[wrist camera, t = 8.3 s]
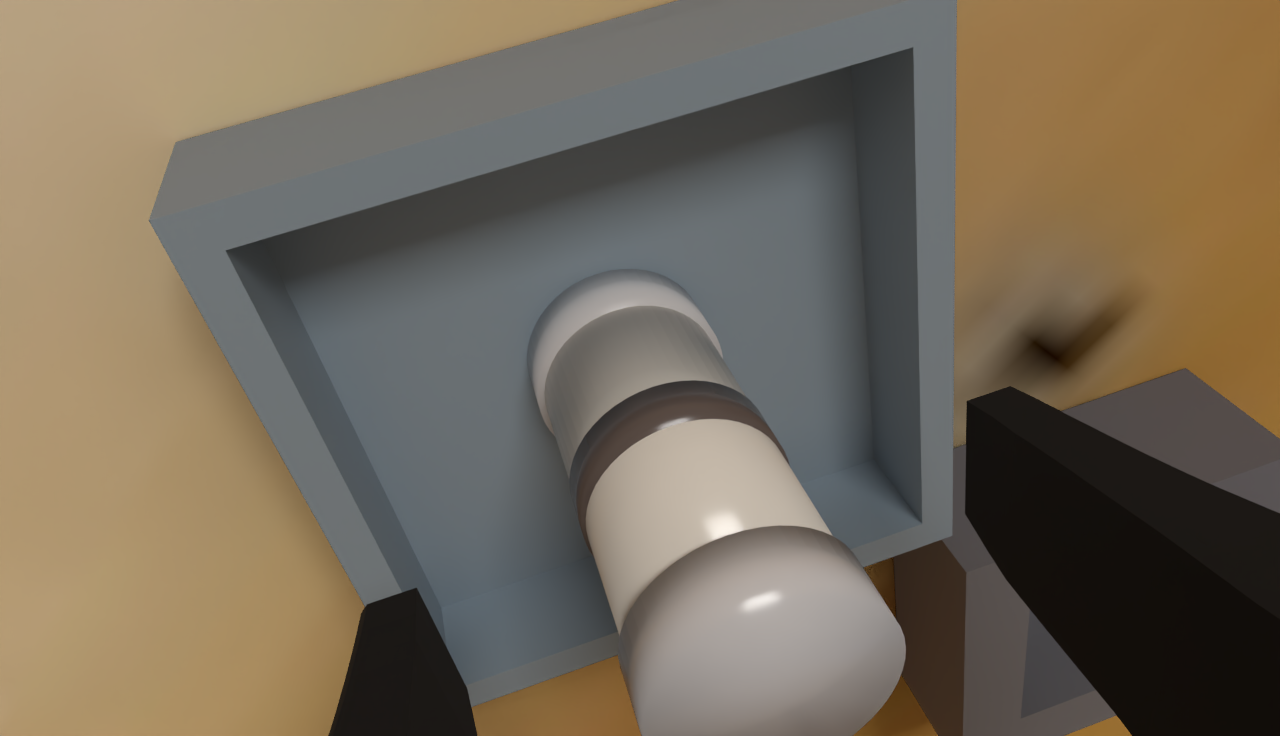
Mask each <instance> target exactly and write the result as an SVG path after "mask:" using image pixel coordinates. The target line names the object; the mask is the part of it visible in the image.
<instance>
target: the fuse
mask: <svg viewBox="0 0 1280 736" xmlns="http://www.w3.org/2000/svg"><path fill="white" fill-rule="evenodd" d="M527 366H528V372H529V376H530V380H531V383H532V386H533V389H534V392H535V396H536V399H537V402H538V405H539V408H540V412H541V414H542V417H543V419H544V422H545V424H546V425H547V427H548V428H549V430H550V431H551V432H552V434H553V435H554V436H555V437H556V440H557V443H558V446H559V450H560V453H561V456H562V459H563V462H564V465H565V468H566V471H567V474H568V478H569V486H570V494H571V498H572V502H573V505H574V508H575V511H576V515H577V518H578V521H579V524H580V527H581V530H582V533H583V537H584V540H585V542H586V545H587V547H588V549H589V551H590V552H591V554H592V555H593V557H594V558H595V561H596V565H597V568H598V571H599V574H600V577H601V580H602V583H603V586H604V589H605V593H606V596H607V599H608V602H609V605H610V608H611V611H612V614H613V617H614V620H615V624H616V627H617V630H618V633H619V636H620V637H619V643H618V659H619V663H620V668H621V671H622V674H623V678H624V681H625V684H626V687H627V691H628V694H629V697H630V700H631V703H632V707H633V710H634V713H635V716H636V719H637V723H638V726H639V729H640V732H641V735H642V736H853V735H854V734H855V733H856V732H857V731H859V730H860V729H861V728H862V727H863V726H864V725H865V724H866V723H868V722H869V721H870V720H871V719H872V718H873V717H874V716H875V714H876V713H877V712H878V711H879V710H880V709H881V708H882V706H883V705H884V704H885V702H886V701H887V700H888V698H889V697H890V695H891V694H892V692H893V690H894V688H895V687H896V685H897V683H898V681H899V678H900V676H901V673H902V671H903V667H904V662H905V655H906V645H905V637H904V635H903V632H902V629H901V627H900V625H899V624H898V622H897V620H896V619H895V617H894V616H893V614H892V613H891V611H890V609H889V608H888V606H887V605H886V603H885V602H884V600H883V598H882V597H881V595H880V594H879V592H878V590H877V589H876V587H875V586H874V584H873V583H872V581H871V579H870V578H869V576H868V575H867V573H866V572H865V570H864V568H863V567H862V565H861V564H860V562H859V561H858V559H857V557H856V556H855V554H854V553H853V552H852V551H851V550H850V549H849V548H848V547H847V545H846V544H844V543H843V542H841V541H840V540H839V539H837V538H836V537H834V536H833V535H832V534H831V532H830V530H829V529H828V527H827V526H826V524H825V522H824V521H823V519H822V518H821V516H820V514H819V513H818V511H817V510H816V508H815V506H814V505H813V503H812V502H811V500H810V498H809V497H808V495H807V494H806V492H805V490H804V489H803V487H802V485H801V484H800V482H799V481H798V479H797V477H796V476H795V474H794V473H793V471H792V469H791V468H790V465H789V460H788V458H787V456H786V453H785V451H784V449H783V448H782V446H781V445H780V443H779V441H778V440H777V438H776V437H775V435H774V433H773V432H772V430H771V429H770V427H769V425H768V424H767V422H766V421H765V419H764V417H763V416H762V414H761V413H760V411H759V410H758V408H757V407H756V406H755V405H754V404H753V403H752V402H751V401H750V400H749V399H748V398H747V397H746V395H745V394H744V392H743V391H742V389H741V387H740V386H739V384H738V383H737V381H736V379H735V378H734V376H733V375H732V373H731V371H730V370H729V368H728V366H727V365H726V363H725V362H724V360H723V355H722V351H721V347H720V344H719V341H718V339H717V337H716V335H715V333H714V332H713V330H712V329H711V327H710V326H709V324H708V322H707V321H706V319H705V318H704V316H703V315H702V313H701V311H700V310H699V308H698V307H697V305H696V304H695V302H694V300H693V299H692V297H691V296H690V295H689V294H688V293H687V292H686V290H685V289H684V288H682V287H681V286H680V285H679V284H677V283H676V282H674V281H673V280H671V279H669V278H668V277H665V276H663V275H660V274H658V273H655V272H651V271H647V270H639V269H618V270H610V271H606V272H602V273H598V274H595V275H593V276H590V277H587V278H585V279H583V280H581V281H579V282H577V283H575V284H574V285H572V286H571V287H569V288H567V289H566V290H564V291H563V292H562V293H561V294H560V295H559V296H557V297H556V298H555V299H554V300H553V301H552V302H551V303H550V304H549V305H548V306H547V308H546V309H545V310H544V312H543V313H542V314H541V316H540V317H539V319H538V321H537V323H536V324H535V326H534V329H533V331H532V334H531V336H530V340H529V344H528V351H527Z"/></svg>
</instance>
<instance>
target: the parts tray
mask: <svg viewBox="0 0 1280 736" xmlns="http://www.w3.org/2000/svg"><path fill="white" fill-rule="evenodd" d="M956 24H957V0H678V1H675V2H671V3H668V4H664V5H661V6H657V7H653V8H650V9H646V10H643V11H639V12H636V13H632V14H629V15H625V16H622V17H618V18H614V19H611V20H607V21H604V22H600V23H597V24H593V25H590V26H586V27H583V28H579V29H575V30H572V31H568V32H565V33H561V34H558V35H554V36H551V37H547V38H544V39H540V40H536V41H533V42H529V43H526V44H522V45H519V46H515V47H512V48H508V49H505V50H501V51H497V52H494V53H490V54H487V55H483V56H480V57H476V58H473V59H469V60H466V61H462V62H458V63H455V64H451V65H448V66H444V67H441V68H437V69H434V70H430V71H427V72H423V73H419V74H416V75H412V76H409V77H405V78H402V79H398V80H395V81H391V82H388V83H384V84H380V85H377V86H373V87H370V88H366V89H363V90H359V91H356V92H352V93H349V94H345V95H341V96H338V97H334V98H331V99H327V100H324V101H320V102H317V103H313V104H310V105H306V106H302V107H299V108H295V109H292V110H288V111H285V112H281V113H278V114H274V115H270V116H267V117H263V118H260V119H256V120H253V121H249V122H246V123H242V124H239V125H235V126H231V127H228V128H224V129H221V130H217V131H214V132H210V133H207V134H203V135H200V136H196V137H192V138H189V139H185V140H182V141H178V142H176V143H175V146H174V149H173V152H172V154H171V157H170V160H169V163H168V166H167V169H166V172H165V175H164V178H163V181H162V184H161V187H160V190H159V193H158V195H157V198H156V201H155V204H154V207H153V210H152V213H151V216H150V219H149V222H150V223H151V225H152V227H153V229H154V231H155V232H156V234H157V236H158V238H159V239H160V241H161V243H162V245H163V247H164V248H165V250H166V252H167V254H168V256H169V257H170V259H171V261H172V263H173V264H174V266H175V268H176V270H177V272H178V273H179V275H180V277H181V279H182V281H183V282H184V284H185V286H186V288H187V289H188V291H189V293H190V295H191V297H192V298H193V300H194V302H195V304H196V306H197V307H198V309H199V311H200V313H201V314H202V316H203V318H204V320H205V322H206V323H207V325H208V327H209V329H210V331H211V332H212V334H213V336H214V338H215V339H216V341H217V343H218V345H219V347H220V348H221V350H222V352H223V354H224V356H225V357H226V359H227V361H228V363H229V364H230V366H231V368H232V370H233V372H234V373H235V375H236V377H237V379H238V381H239V382H240V384H241V386H242V388H243V389H244V391H245V393H246V395H247V397H248V398H249V400H250V402H251V404H252V406H253V407H254V409H255V411H256V413H257V414H258V416H259V418H260V420H261V422H262V423H263V425H264V427H265V429H266V431H267V432H268V434H269V436H270V438H271V439H272V441H273V443H274V445H275V447H276V448H277V450H278V452H279V454H280V456H281V457H282V459H283V461H284V463H285V464H286V466H287V468H288V470H289V472H290V473H291V475H292V477H293V479H294V481H295V482H296V484H297V486H298V488H299V489H300V491H301V493H302V495H303V497H304V498H305V500H306V502H307V504H308V506H309V507H310V509H311V511H312V513H313V514H314V516H315V518H316V520H317V522H318V523H319V525H320V527H321V529H322V531H323V532H324V534H325V536H326V538H327V539H328V541H329V543H330V545H331V547H332V548H333V550H334V552H335V554H336V556H337V557H338V559H339V561H340V563H341V564H342V566H343V568H344V570H345V572H346V573H347V575H348V577H349V579H350V581H351V582H352V584H353V586H354V588H355V589H356V591H357V593H358V595H359V597H360V598H361V600H362V602H363V604H364V606H365V607H366V605H367V604H369V603H372V602H375V601H378V600H381V599H384V598H387V597H390V596H393V595H396V594H399V593H402V592H405V591H408V590H411V589H414V588H417V589H418V591H419V593H420V595H421V597H422V599H423V601H424V603H425V605H426V607H427V609H428V611H429V613H430V615H431V617H432V619H433V621H434V623H435V625H436V627H437V629H438V631H439V633H440V635H441V637H442V639H443V641H444V643H445V645H446V647H447V649H448V651H449V653H450V655H451V657H452V659H453V661H454V663H455V665H456V667H457V669H458V671H459V673H460V675H461V677H462V679H463V681H464V683H465V685H466V687H467V689H468V694H469V699H470V704H471V707H473V706H476V705H479V704H482V703H484V702H487V701H490V700H493V699H496V698H498V697H501V696H504V695H507V694H510V693H512V692H515V691H518V690H521V689H524V688H526V687H529V686H532V685H535V684H538V683H540V682H543V681H546V680H549V679H552V678H554V677H557V676H560V675H563V674H566V673H569V672H571V671H574V670H577V669H580V668H583V667H585V666H588V665H591V664H594V663H597V662H599V661H602V660H605V659H608V658H611V657H613V656H616V655H618V643H619V637H620V636H619V633H618V630H617V627H616V624H615V620H614V617H613V614H612V611H611V608H610V605H609V602H608V599H607V596H606V593H605V589H604V586H603V583H602V580H601V577H600V574H599V571H598V568H597V565H596V561H595V558H594V557H593V555H592V554H591V552H590V551H589V549H588V547H587V545H586V542H585V540H584V537H583V533H582V530H581V527H580V524H579V521H578V518H577V515H576V511H575V508H574V505H573V502H572V498H571V494H570V486H569V478H568V474H567V471H566V468H565V465H564V462H563V459H562V456H561V453H560V450H559V446H558V443H557V440H556V437H555V436H554V435H553V434H552V432H551V431H550V430H549V428H548V427H547V425H546V424H545V422H544V419H543V417H542V414H541V412H540V408H539V405H538V402H537V399H536V396H535V392H534V389H533V386H532V383H531V380H530V376H529V372H528V366H527V351H528V344H529V340H530V336H531V334H532V331H533V329H534V326H535V324H536V323H537V321H538V319H539V317H540V316H541V314H542V313H543V312H544V310H545V309H546V308H547V306H548V305H549V304H550V303H551V302H552V301H553V300H554V299H555V298H556V297H557V296H559V295H560V294H561V293H562V292H563V291H564V290H566V289H567V288H569V287H571V286H572V285H574V284H575V283H577V282H579V281H581V280H583V279H585V278H587V277H590V276H593V275H595V274H598V273H602V272H606V271H610V270H618V269H639V270H647V271H651V272H655V273H658V274H660V275H663V276H665V277H668V278H669V279H671V280H673V281H674V282H676V283H677V284H679V285H680V286H681V287H682V288H684V289H685V290H686V292H687V293H688V294H689V295H690V296H691V297H692V299H693V300H694V302H695V304H696V305H697V307H698V308H699V310H700V311H701V313H702V315H703V316H704V318H705V319H706V321H707V322H708V324H709V326H710V327H711V329H712V330H713V332H714V333H715V335H716V337H717V339H718V341H719V344H720V347H721V351H722V355H723V360H724V362H725V363H726V365H727V366H728V368H729V370H730V371H731V373H732V375H733V376H734V378H735V379H736V381H737V383H738V384H739V386H740V387H741V389H742V391H743V392H744V394H745V395H746V397H747V398H748V399H749V400H750V401H751V402H752V403H753V404H754V405H755V406H756V407H757V408H758V410H759V411H760V413H761V414H762V416H763V417H764V419H765V421H766V422H767V424H768V425H769V427H770V429H771V430H772V432H773V433H774V435H775V437H776V438H777V440H778V441H779V443H780V445H781V446H782V448H783V449H784V451H785V453H786V456H787V458H788V460H789V465H790V468H791V469H792V471H793V473H794V474H795V476H796V477H797V479H798V481H799V482H800V484H801V485H802V487H803V489H804V490H805V492H806V494H807V495H808V497H809V498H810V500H811V502H812V503H813V505H814V506H815V508H816V510H817V511H818V513H819V514H820V516H821V518H822V519H823V521H824V522H825V524H826V526H827V527H828V529H829V530H830V532H831V534H832V535H833V536H834V537H836V538H837V539H839V540H840V541H841V542H843V543H844V544H846V545H847V547H848V548H849V549H850V550H851V551H852V552H853V553H854V554H855V556H856V557H857V559H858V561H859V562H860V564H861V565H862V567H866V566H869V565H872V564H874V563H877V562H880V561H883V560H886V559H888V558H891V557H894V556H897V555H900V554H902V553H905V552H908V551H911V550H914V549H917V548H919V547H922V546H925V545H928V544H931V543H933V542H936V541H939V540H942V539H945V538H947V537H950V536H952V520H953V396H954V272H955V148H956Z"/></svg>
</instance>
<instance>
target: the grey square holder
mask: <svg viewBox="0 0 1280 736" xmlns="http://www.w3.org/2000/svg"><path fill="white" fill-rule="evenodd" d="M1061 412H1063V413H1065V414H1067V415H1069V416H1071V417H1073V418H1075V419H1077V420H1079V421H1081V422H1083V423H1085V424H1087V425H1089V426H1091V427H1093V428H1095V429H1097V430H1099V431H1101V432H1103V433H1105V434H1107V435H1109V436H1111V437H1113V438H1115V439H1117V440H1119V441H1121V442H1123V443H1125V444H1127V445H1129V446H1131V447H1133V448H1135V449H1137V450H1139V451H1141V452H1143V453H1145V454H1147V455H1149V456H1151V457H1154V458H1156V459H1158V460H1160V461H1162V462H1164V463H1166V464H1168V465H1170V466H1172V467H1175V468H1177V469H1179V470H1181V471H1183V472H1185V473H1188V474H1190V475H1192V476H1194V477H1196V478H1199V479H1201V480H1203V481H1205V482H1207V483H1210V484H1212V485H1214V486H1216V487H1219V488H1221V489H1223V490H1226V491H1228V492H1230V493H1233V494H1235V495H1238V496H1240V497H1242V498H1245V499H1247V500H1249V501H1252V502H1254V503H1257V504H1259V505H1261V506H1264V507H1266V508H1268V509H1271V510H1273V511H1276V512H1278V513H1280V439H1279V438H1278V437H1276V436H1275V435H1274V434H1272V433H1271V432H1270V431H1268V430H1267V429H1266V428H1264V427H1263V426H1262V425H1260V424H1259V423H1258V422H1256V421H1255V420H1254V419H1252V418H1251V417H1250V416H1248V415H1247V414H1246V413H1245V412H1243V411H1242V410H1241V409H1239V408H1238V407H1237V406H1235V405H1234V404H1233V403H1231V402H1230V401H1229V400H1227V399H1226V398H1225V397H1223V396H1222V395H1221V394H1219V393H1218V392H1217V391H1215V390H1214V389H1213V388H1211V387H1210V386H1209V385H1207V384H1206V383H1205V382H1203V381H1202V380H1201V379H1199V378H1198V377H1197V376H1195V375H1194V374H1193V373H1191V372H1190V371H1189V370H1187V369H1186V368H1185V369H1182V370H1180V371H1177V372H1174V373H1171V374H1168V375H1165V376H1162V377H1159V378H1156V379H1154V380H1151V381H1148V382H1145V383H1142V384H1139V385H1136V386H1133V387H1130V388H1127V389H1125V390H1122V391H1119V392H1116V393H1113V394H1110V395H1107V396H1104V397H1101V398H1099V399H1096V400H1093V401H1090V402H1087V403H1084V404H1081V405H1078V406H1075V407H1073V408H1070V409H1067V410H1064V411H1061ZM965 479H966V445H963V446H960V447H957V448H954V449H953V520H952V536H950V537H947V538H945V539H942V540H939V541H936V542H933V543H931V544H928V545H925V546H922V547H919V548H917V549H914V550H911V551H908V552H905V553H902V554H900V555H897V556H894V577H895V598H896V620H897V622H898V624H899V625H900V627H901V629H902V632H903V635H904V637H905V645H906V655H905V662H904V667H903V671H902V673H901V675H902V677H903V678H904V680H905V681H906V683H907V685H908V686H909V688H910V690H911V691H912V693H913V695H914V696H915V698H916V700H917V701H918V703H919V705H920V706H921V708H922V710H923V711H924V713H925V715H926V716H927V718H928V719H929V721H930V723H931V724H932V726H933V728H934V729H935V731H936V733H937V734H938V736H1064V735H1067V734H1069V733H1072V732H1075V731H1077V730H1080V729H1082V728H1085V727H1088V726H1090V725H1093V724H1095V723H1098V722H1100V721H1103V720H1106V719H1108V718H1111V717H1113V716H1116V714H1115V713H1114V711H1113V710H1112V709H1111V708H1110V707H1109V705H1108V704H1107V703H1106V702H1105V701H1104V699H1103V698H1102V697H1101V696H1100V694H1099V693H1098V692H1097V691H1096V690H1095V688H1094V687H1093V686H1092V685H1091V683H1090V682H1089V681H1088V680H1087V679H1086V677H1085V676H1084V675H1083V674H1082V673H1081V671H1080V670H1079V669H1078V668H1077V666H1076V665H1075V664H1074V663H1073V662H1072V660H1071V659H1070V658H1069V657H1068V656H1067V654H1066V653H1065V652H1064V651H1063V649H1062V648H1061V647H1060V646H1059V645H1058V643H1057V642H1056V641H1055V640H1054V638H1053V637H1052V636H1051V635H1050V634H1049V632H1048V631H1047V630H1046V629H1045V628H1044V626H1043V625H1042V624H1041V623H1040V621H1039V620H1038V619H1037V618H1036V616H1035V615H1034V614H1033V613H1032V611H1031V610H1030V609H1029V608H1028V607H1027V605H1026V604H1025V603H1024V602H1023V600H1022V599H1021V598H1020V597H1019V595H1018V594H1017V593H1016V592H1015V590H1014V589H1013V588H1012V587H1011V585H1010V584H1009V583H1008V581H1007V580H1006V579H1005V577H1004V576H1003V574H1002V573H1001V571H1000V569H999V568H998V566H997V565H996V563H995V562H994V560H993V559H992V557H991V556H990V554H989V552H988V551H987V549H986V548H985V546H984V544H983V543H982V541H981V539H980V538H979V536H978V534H977V533H976V531H975V529H974V528H973V526H972V525H971V523H970V521H969V520H968V518H967V516H966V515H965Z"/></svg>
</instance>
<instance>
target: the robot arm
mask: <svg viewBox="0 0 1280 736" xmlns="http://www.w3.org/2000/svg"><path fill="white" fill-rule="evenodd" d="M965 515H966V516H967V518H968V520H969V521H970V523H971V525H972V526H973V528H974V529H975V531H976V533H977V534H978V536H979V538H980V539H981V541H982V543H983V544H984V546H985V548H986V549H987V551H988V552H989V554H990V556H991V557H992V559H993V560H994V562H995V563H996V565H997V566H998V568H999V569H1000V571H1001V573H1002V574H1003V576H1004V577H1005V579H1006V580H1007V581H1008V583H1009V584H1010V585H1011V587H1012V588H1013V589H1014V590H1015V592H1016V593H1017V594H1018V595H1019V597H1020V598H1021V599H1022V600H1023V602H1024V603H1025V604H1026V605H1027V607H1028V608H1029V609H1030V610H1031V611H1032V613H1033V614H1034V615H1035V616H1036V618H1037V619H1038V620H1039V621H1040V623H1041V624H1042V625H1043V626H1044V628H1045V629H1046V630H1047V631H1048V632H1049V634H1050V635H1051V636H1052V637H1053V638H1054V640H1055V641H1056V642H1057V643H1058V645H1059V646H1060V647H1061V648H1062V649H1063V651H1064V652H1065V653H1066V654H1067V656H1068V657H1069V658H1070V659H1071V660H1072V662H1073V663H1074V664H1075V665H1076V666H1077V668H1078V669H1079V670H1080V671H1081V673H1082V674H1083V675H1084V676H1085V677H1086V679H1087V680H1088V681H1089V682H1090V683H1091V685H1092V686H1093V687H1094V688H1095V690H1096V691H1097V692H1098V693H1099V694H1100V696H1101V697H1102V698H1103V699H1104V701H1105V702H1106V703H1107V704H1108V705H1109V707H1110V708H1111V709H1112V710H1113V711H1114V713H1115V714H1116V715H1117V716H1118V718H1119V719H1120V720H1121V721H1122V723H1123V724H1124V725H1125V727H1126V728H1127V729H1128V731H1129V732H1130V733H1131V735H1132V736H1280V513H1278V512H1276V511H1273V510H1271V509H1268V508H1266V507H1264V506H1261V505H1259V504H1257V503H1254V502H1252V501H1249V500H1247V499H1245V498H1242V497H1240V496H1238V495H1235V494H1233V493H1230V492H1228V491H1226V490H1223V489H1221V488H1219V487H1216V486H1214V485H1212V484H1210V483H1207V482H1205V481H1203V480H1201V479H1199V478H1196V477H1194V476H1192V475H1190V474H1188V473H1185V472H1183V471H1181V470H1179V469H1177V468H1175V467H1172V466H1170V465H1168V464H1166V463H1164V462H1162V461H1160V460H1158V459H1156V458H1154V457H1151V456H1149V455H1147V454H1145V453H1143V452H1141V451H1139V450H1137V449H1135V448H1133V447H1131V446H1129V445H1127V444H1125V443H1123V442H1121V441H1119V440H1117V439H1115V438H1113V437H1111V436H1109V435H1107V434H1105V433H1103V432H1101V431H1099V430H1097V429H1095V428H1093V427H1091V426H1089V425H1087V424H1085V423H1083V422H1081V421H1079V420H1077V419H1075V418H1073V417H1071V416H1069V415H1067V414H1065V413H1063V412H1061V411H1059V410H1057V409H1056V408H1054V407H1052V406H1050V405H1048V404H1046V403H1044V402H1042V401H1040V400H1038V399H1036V398H1034V397H1032V396H1030V395H1028V394H1026V393H1023V392H1021V391H1019V390H1017V389H1015V388H1013V387H1011V386H1010V387H1007V388H1004V389H1001V390H998V391H995V392H992V393H989V394H986V395H983V396H980V397H977V398H974V399H971V400H969V401H967V422H966V479H965ZM329 736H477V732H476V727H475V722H474V718H473V713H472V708H471V704H470V699H469V694H468V689H467V687H466V685H465V683H464V681H463V679H462V677H461V675H460V673H459V671H458V669H457V667H456V665H455V663H454V661H453V659H452V657H451V655H450V653H449V651H448V649H447V647H446V645H445V643H444V641H443V639H442V637H441V635H440V633H439V631H438V629H437V627H436V625H435V623H434V621H433V619H432V617H431V615H430V613H429V611H428V609H427V607H426V605H425V603H424V601H423V599H422V597H421V595H420V593H419V591H418V589H417V588H414V589H411V590H408V591H405V592H402V593H399V594H396V595H393V596H390V597H387V598H384V599H381V600H378V601H375V602H372V603H369V604H367V605H366V607H365V608H364V610H363V612H362V613H361V617H360V621H359V626H358V631H357V635H356V639H355V643H354V647H353V651H352V655H351V659H350V663H349V667H348V671H347V675H346V678H345V682H344V686H343V689H342V693H341V696H340V700H339V703H338V707H337V710H336V714H335V717H334V720H333V723H332V726H331V730H330V733H329Z"/></svg>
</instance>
